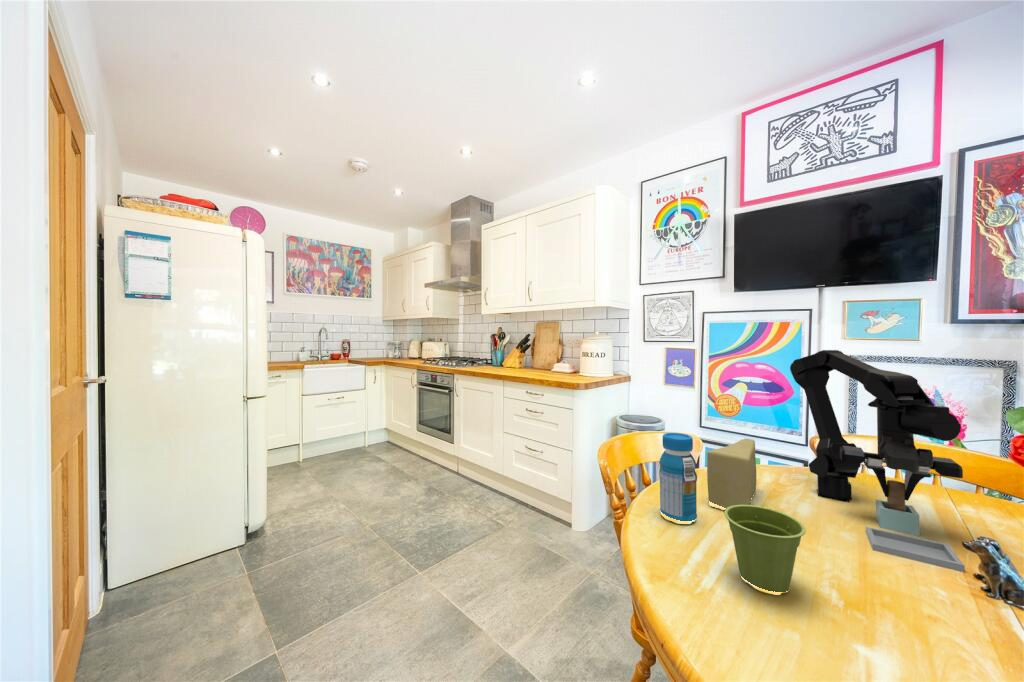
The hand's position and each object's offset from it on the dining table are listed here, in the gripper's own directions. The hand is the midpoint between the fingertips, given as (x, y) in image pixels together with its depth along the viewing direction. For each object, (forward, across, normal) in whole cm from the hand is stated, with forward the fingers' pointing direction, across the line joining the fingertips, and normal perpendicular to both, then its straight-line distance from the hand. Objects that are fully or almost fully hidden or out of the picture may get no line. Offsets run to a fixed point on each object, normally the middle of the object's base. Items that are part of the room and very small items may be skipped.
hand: (896, 498), depth 83 cm
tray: (+7, 0, -12) cm, 14 cm away
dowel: (+6, 0, 0) cm, 6 cm away
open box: (+7, 0, 0) cm, 7 cm away
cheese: (+7, -30, -3) cm, 31 cm away
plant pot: (+7, -23, -41) cm, 48 cm away
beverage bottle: (+7, -41, -24) cm, 48 cm away
